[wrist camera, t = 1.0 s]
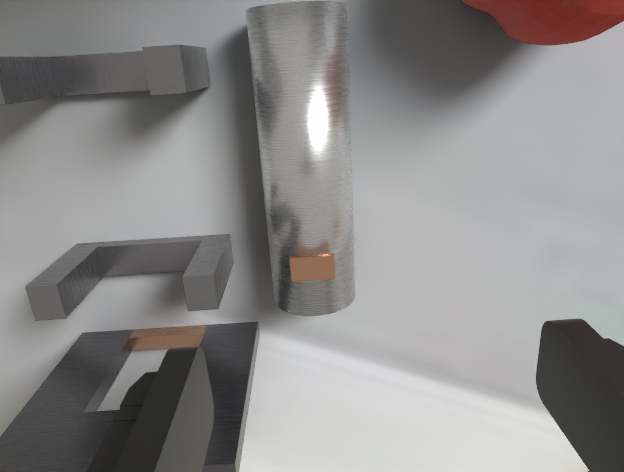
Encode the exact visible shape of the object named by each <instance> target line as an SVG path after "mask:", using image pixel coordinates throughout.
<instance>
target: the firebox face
mask: <svg viewBox="0 0 624 472" xmlns="http://www.w3.org/2000/svg"><path fill="white" fill-rule="evenodd" d="M258 341H259V327H258V322H249V323H233V324H217V325H201V326H185V327H170V328H154V329H138V330H122V331H106V332H90V333H82V335H81V336H80V337H79V339H78V340H77V341H76V342H75V344H74V345H73V346H72V347H71V349H70V350H69V351H68V352H67V354H66V355H65V356H64V357H63V359H62V360H61V361H60V362H59V364H58V365H57V366H56V367H55V369H54V370H53V371H52V373H51V374H50V375H49V376H48V378H47V379H46V380H45V381H44V383H43V384H42V385H41V386H40V388H39V389H38V390H37V391H36V393H35V394H34V395H33V396H32V398H31V399H30V400H29V401H28V403H27V404H26V405H25V407H24V408H23V409H22V410H21V412H20V413H19V414H18V415H17V417H16V418H15V419H14V420H13V422H12V423H11V424H10V425H9V427H8V428H7V429H6V430H5V432H4V433H3V434H2V435H1V437H0V472H87V470H88V468H89V466H90V464H91V462H92V460H93V458H94V456H95V454H96V452H97V450H98V448H99V446H100V444H101V442H102V440H103V438H104V437H105V435H106V433H107V431H108V429H109V427H110V425H112V424H113V419H114V417H115V415H116V413H117V411H118V410H112V411H97V410H98V408H99V407H100V405H101V403H102V401H103V400H104V398H105V396H106V395H107V393H108V391H109V389H110V388H111V386H112V384H113V382H114V381H115V379H116V377H117V376H118V374H119V372H120V370H121V369H122V367H123V365H124V363H125V362H126V360H127V358H128V357H129V355H130V353H131V351H134V350H150V349H166V348H182V347H197V346H199V347H202V349H203V351H204V355H205V360H206V365H207V370H208V375H209V381H210V386H211V391H212V396H213V403H214V420H213V427H212V431H211V436H210V440H209V444H208V448H207V452H206V457H205V461H204V465H203V469H202V472H239V468H240V461H241V454H242V447H243V441H244V434H245V427H246V421H247V414H248V407H249V401H250V394H251V387H252V381H253V374H254V367H255V361H256V354H257V347H258Z"/></svg>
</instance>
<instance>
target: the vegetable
mask: <svg viewBox="0 0 624 472" xmlns="http://www.w3.org/2000/svg"><path fill="white" fill-rule="evenodd" d="M462 1H463V2H464V3H466V4H467V5H469V6H470V7H472V8H475V9H479V10H482V11H485V12H487V13H488V14H490V15H491V16H493V17H494V18H495V19H496V21H497V22H498V23H499V25H500V26H501V28H502V29H503V30H504V32H505V33H506V34H507V36H509V37H512V38H514V39H517V40H520V41H522V42H525V43H528V44H537V45H559V44H568V43H575V42H579V41H584V40H586V39H589V38H591V37H593V36H596V35H598V34H600V33H602V32H604V31H606V30H608V29H610V28H612V27H614V26H615V25H617V24H619V23H621V22H623V21H624V0H462Z"/></svg>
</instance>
